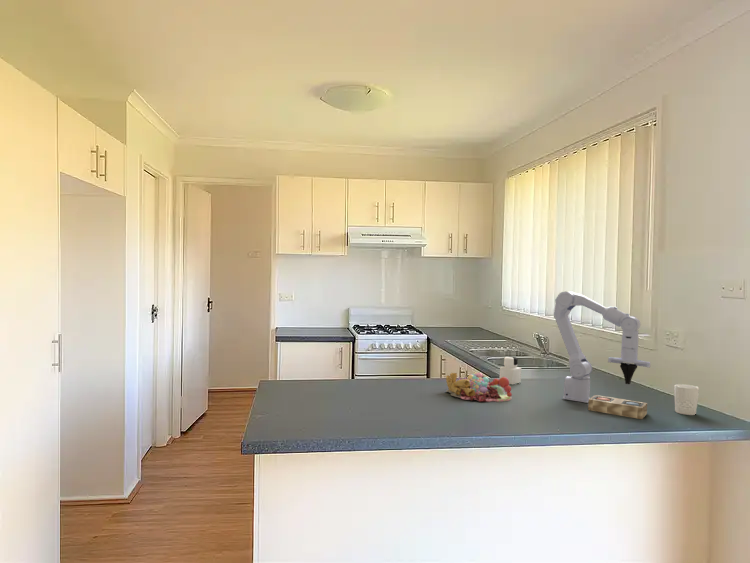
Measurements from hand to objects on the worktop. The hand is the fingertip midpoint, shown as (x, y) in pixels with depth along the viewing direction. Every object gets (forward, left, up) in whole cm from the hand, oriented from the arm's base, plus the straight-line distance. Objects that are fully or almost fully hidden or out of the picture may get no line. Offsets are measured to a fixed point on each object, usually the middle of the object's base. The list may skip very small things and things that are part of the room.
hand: (627, 383), depth 198 cm
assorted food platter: (-51, -22, -10) cm, 57 cm away
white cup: (+19, +8, -10) cm, 23 cm away
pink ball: (-6, -9, -9) cm, 15 cm away
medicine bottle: (-51, +12, -10) cm, 54 cm away
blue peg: (+4, -9, -9) cm, 14 cm away
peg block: (-1, -10, -9) cm, 13 cm away
